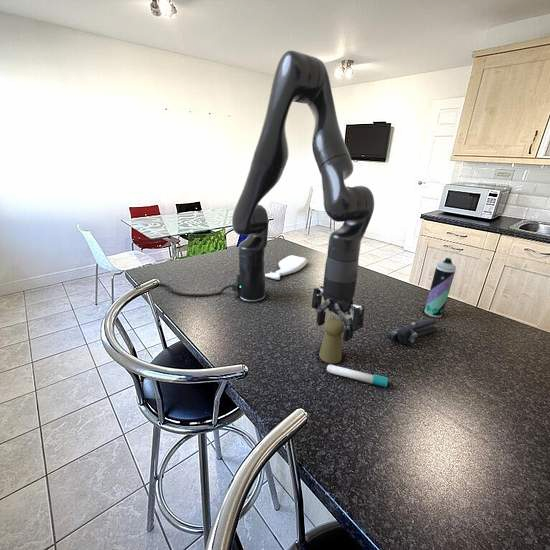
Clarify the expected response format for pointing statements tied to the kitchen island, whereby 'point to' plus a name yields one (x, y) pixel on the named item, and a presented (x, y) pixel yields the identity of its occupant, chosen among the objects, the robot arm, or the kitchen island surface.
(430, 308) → the spray can
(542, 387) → the kitchen island surface
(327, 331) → the cork
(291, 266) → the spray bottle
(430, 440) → the kitchen island surface
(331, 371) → the marker
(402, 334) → the can opener
